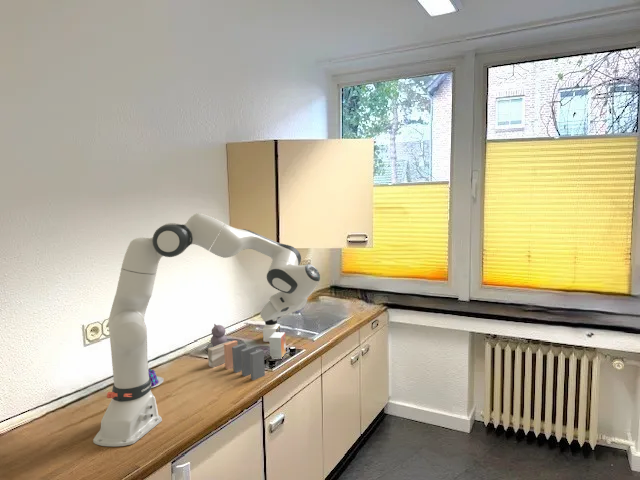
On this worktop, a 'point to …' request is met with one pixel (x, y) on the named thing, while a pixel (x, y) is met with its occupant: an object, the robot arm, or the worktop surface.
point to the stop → (216, 355)
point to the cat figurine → (218, 335)
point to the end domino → (229, 353)
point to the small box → (277, 344)
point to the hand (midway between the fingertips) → (275, 318)
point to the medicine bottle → (270, 329)
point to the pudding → (154, 378)
